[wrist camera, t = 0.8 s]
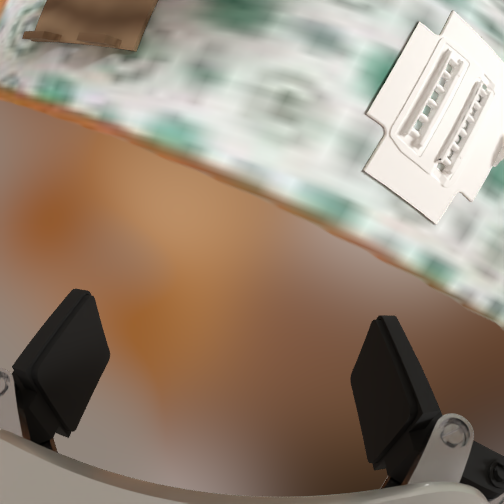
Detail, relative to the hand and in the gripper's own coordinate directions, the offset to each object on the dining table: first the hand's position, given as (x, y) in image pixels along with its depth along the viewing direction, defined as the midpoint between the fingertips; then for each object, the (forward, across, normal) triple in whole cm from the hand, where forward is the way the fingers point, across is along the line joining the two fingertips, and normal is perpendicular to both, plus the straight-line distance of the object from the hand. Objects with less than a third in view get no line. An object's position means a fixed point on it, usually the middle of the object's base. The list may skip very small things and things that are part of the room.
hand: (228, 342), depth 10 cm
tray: (+29, -25, -11) cm, 40 cm away
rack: (+28, +22, -21) cm, 42 cm away
